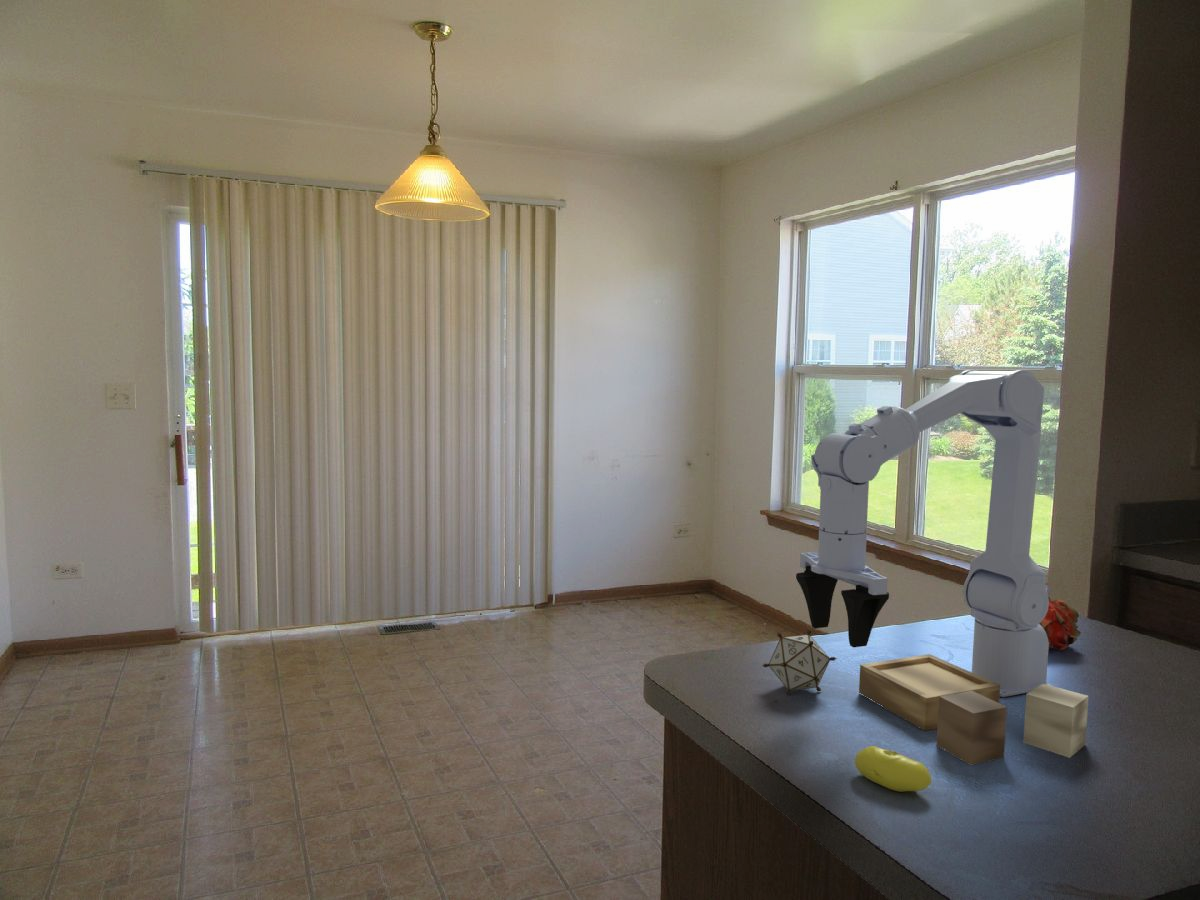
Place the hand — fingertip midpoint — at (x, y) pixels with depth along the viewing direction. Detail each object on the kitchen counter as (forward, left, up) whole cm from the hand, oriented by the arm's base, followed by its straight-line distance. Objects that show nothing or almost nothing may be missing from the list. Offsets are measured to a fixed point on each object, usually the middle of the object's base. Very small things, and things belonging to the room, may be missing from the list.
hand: (838, 636), depth 102 cm
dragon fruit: (-48, -9, -10) cm, 50 cm away
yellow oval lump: (+6, +17, -10) cm, 21 cm away
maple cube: (-19, +16, -10) cm, 27 cm away
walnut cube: (-8, +14, -10) cm, 19 cm away
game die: (0, -8, -10) cm, 13 cm away
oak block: (-13, +2, -10) cm, 17 cm away
